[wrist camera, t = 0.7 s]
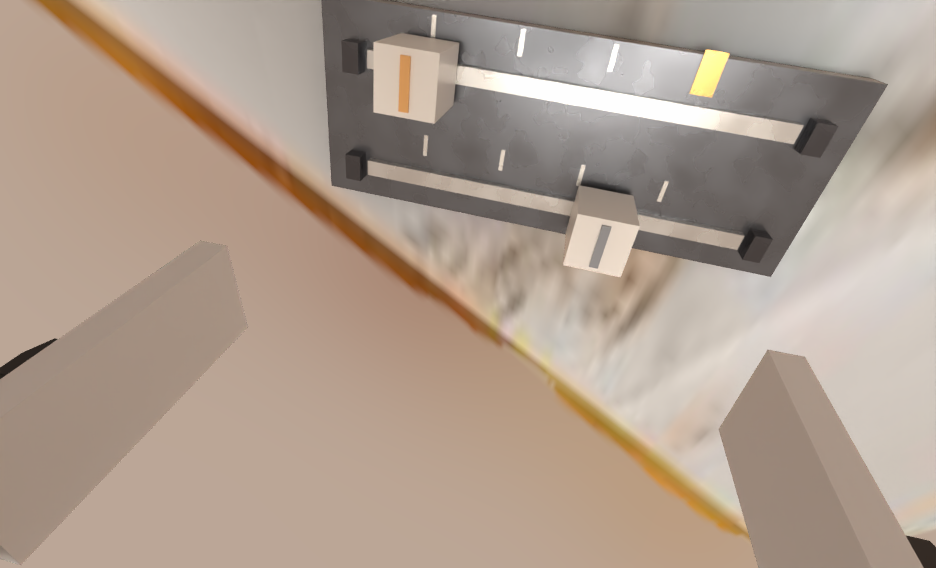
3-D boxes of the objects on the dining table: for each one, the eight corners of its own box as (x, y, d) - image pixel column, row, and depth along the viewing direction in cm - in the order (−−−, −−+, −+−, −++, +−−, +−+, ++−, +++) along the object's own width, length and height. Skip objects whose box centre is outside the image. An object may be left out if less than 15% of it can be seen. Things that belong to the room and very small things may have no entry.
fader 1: (401, 33, 31) (372, 42, 27) (459, 42, 30) (439, 53, 26) (399, 95, 33) (372, 113, 29) (453, 105, 33) (433, 124, 29)
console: (333, -14, 33) (312, -13, 30) (874, 73, 29) (902, 82, 26) (341, 177, 41) (325, 190, 38) (762, 263, 37) (775, 285, 35)
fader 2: (578, 185, 34) (577, 215, 30) (633, 195, 34) (640, 227, 29) (565, 232, 36) (563, 266, 32) (616, 243, 36) (620, 278, 32)
